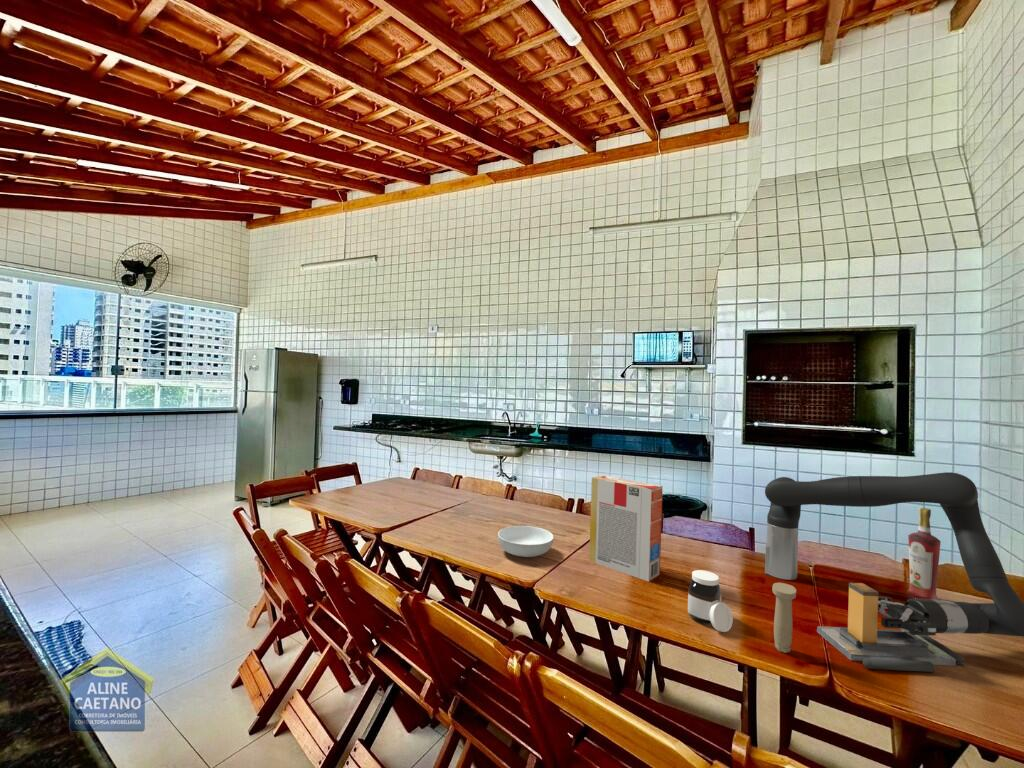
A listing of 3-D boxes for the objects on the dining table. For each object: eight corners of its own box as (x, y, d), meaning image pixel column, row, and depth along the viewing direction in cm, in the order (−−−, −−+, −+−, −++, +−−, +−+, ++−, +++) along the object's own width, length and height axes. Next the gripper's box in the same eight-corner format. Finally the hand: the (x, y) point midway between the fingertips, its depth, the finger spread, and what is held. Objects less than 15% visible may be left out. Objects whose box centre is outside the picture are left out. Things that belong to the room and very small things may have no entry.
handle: (795, 647, 108) (797, 586, 108) (792, 660, 103) (794, 596, 103) (772, 640, 111) (774, 580, 111) (769, 651, 106) (770, 589, 106)
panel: (910, 636, 114) (910, 624, 115) (955, 665, 102) (956, 652, 103) (817, 632, 115) (817, 620, 115) (850, 660, 103) (851, 647, 103)
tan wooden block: (861, 634, 111) (863, 583, 111) (877, 645, 107) (878, 592, 107) (847, 633, 111) (848, 582, 112) (861, 645, 107) (863, 591, 107)
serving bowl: (532, 569, 149) (532, 548, 149) (485, 553, 162) (486, 534, 162) (563, 551, 166) (564, 533, 166) (519, 538, 179) (519, 522, 179)
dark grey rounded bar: (915, 638, 113) (916, 631, 113) (923, 639, 113) (924, 631, 113) (957, 666, 102) (958, 657, 102) (966, 666, 102) (967, 657, 102)
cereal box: (659, 574, 148) (662, 485, 148) (648, 581, 142) (651, 489, 142) (601, 554, 164) (603, 474, 164) (589, 560, 158) (591, 477, 158)
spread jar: (695, 605, 127) (696, 565, 127) (738, 620, 120) (739, 577, 120) (681, 622, 118) (682, 579, 118) (727, 638, 111) (728, 592, 111)
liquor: (901, 595, 138) (903, 506, 138) (915, 592, 141) (917, 504, 141) (930, 606, 131) (932, 513, 132) (944, 602, 134) (946, 511, 134)
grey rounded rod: (926, 668, 101) (926, 659, 101) (934, 674, 99) (935, 665, 99) (860, 665, 102) (860, 656, 102) (867, 670, 100) (867, 661, 100)
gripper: (910, 587, 116) (847, 584, 116) (964, 616, 101) (893, 612, 102) (909, 616, 116) (846, 613, 116) (963, 648, 101) (892, 645, 102)
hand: (868, 613), depth 109 cm, fingers open, 8 cm apart
